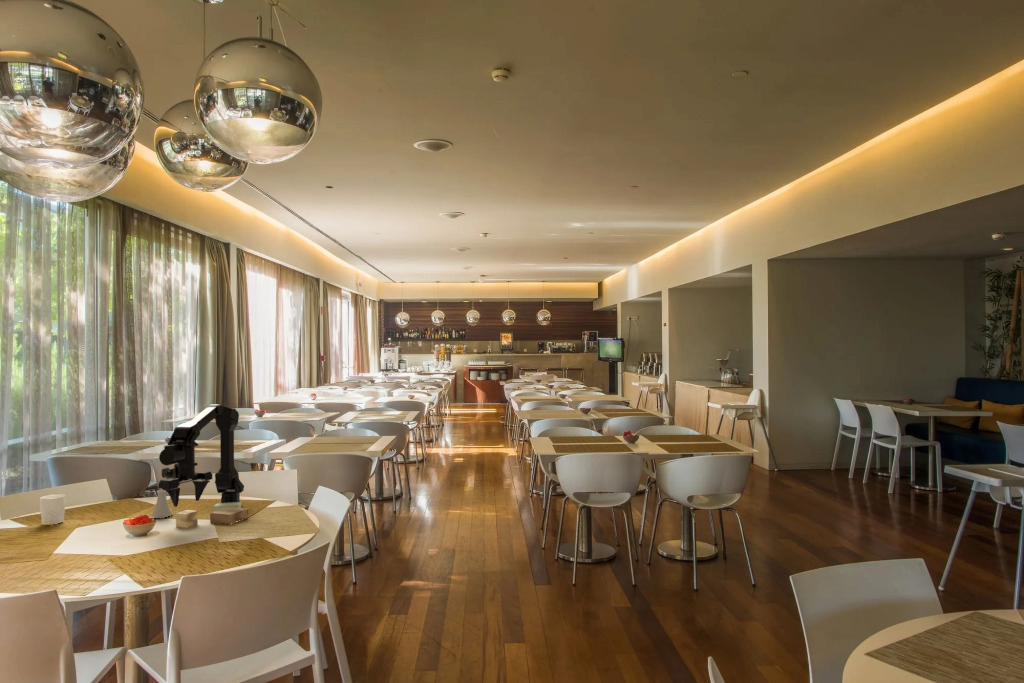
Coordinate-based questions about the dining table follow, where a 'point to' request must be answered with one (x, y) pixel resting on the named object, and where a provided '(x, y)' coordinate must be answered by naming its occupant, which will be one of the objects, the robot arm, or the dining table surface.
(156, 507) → the flask
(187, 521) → the oak cube
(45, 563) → the dining table surface
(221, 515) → the base block
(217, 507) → the block
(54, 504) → the white cup
